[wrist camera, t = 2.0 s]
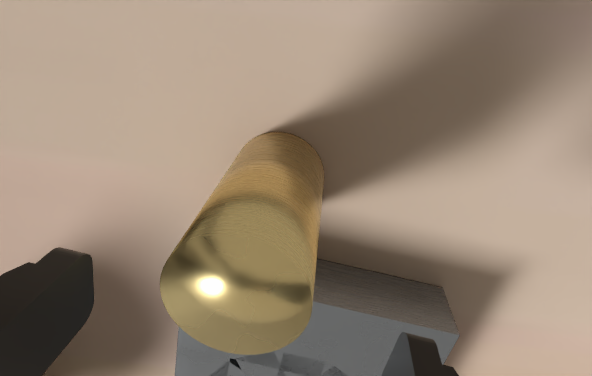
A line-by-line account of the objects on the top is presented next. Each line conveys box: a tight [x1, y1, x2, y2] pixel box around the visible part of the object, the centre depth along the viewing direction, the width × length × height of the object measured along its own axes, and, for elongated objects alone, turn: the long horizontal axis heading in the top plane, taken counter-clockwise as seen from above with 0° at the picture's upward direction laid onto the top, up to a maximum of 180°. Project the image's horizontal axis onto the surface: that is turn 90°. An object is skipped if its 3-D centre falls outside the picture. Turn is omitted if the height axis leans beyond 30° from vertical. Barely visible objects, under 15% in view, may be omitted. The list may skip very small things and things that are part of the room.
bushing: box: [160, 132, 324, 355], centre depth 13 cm, size 4×4×8 cm
